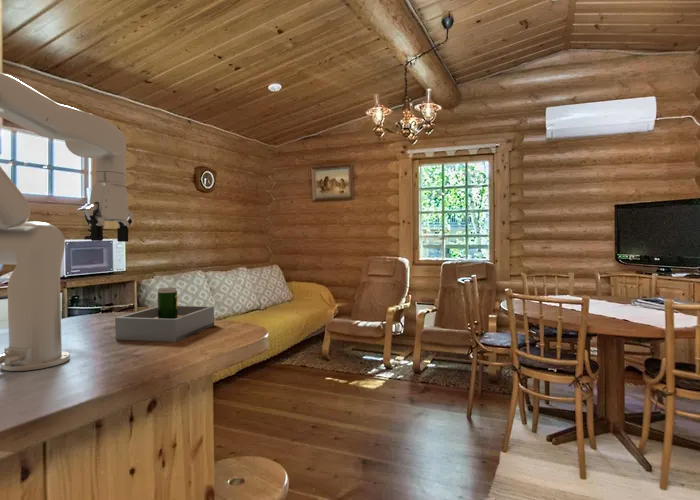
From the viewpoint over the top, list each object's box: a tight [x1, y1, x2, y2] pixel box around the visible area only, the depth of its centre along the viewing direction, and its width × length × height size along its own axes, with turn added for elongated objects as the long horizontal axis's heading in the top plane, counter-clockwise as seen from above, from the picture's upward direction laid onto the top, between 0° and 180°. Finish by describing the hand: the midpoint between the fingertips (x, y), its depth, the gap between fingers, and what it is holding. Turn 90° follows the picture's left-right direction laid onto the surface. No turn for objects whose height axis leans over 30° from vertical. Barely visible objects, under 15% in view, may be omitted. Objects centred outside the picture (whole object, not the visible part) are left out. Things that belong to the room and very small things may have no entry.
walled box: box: [114, 305, 215, 343], centre depth 129 cm, size 22×18×6 cm
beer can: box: [156, 286, 178, 319], centre depth 128 cm, size 5×5×12 cm
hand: (110, 241), depth 122 cm, fingers open, 9 cm apart
